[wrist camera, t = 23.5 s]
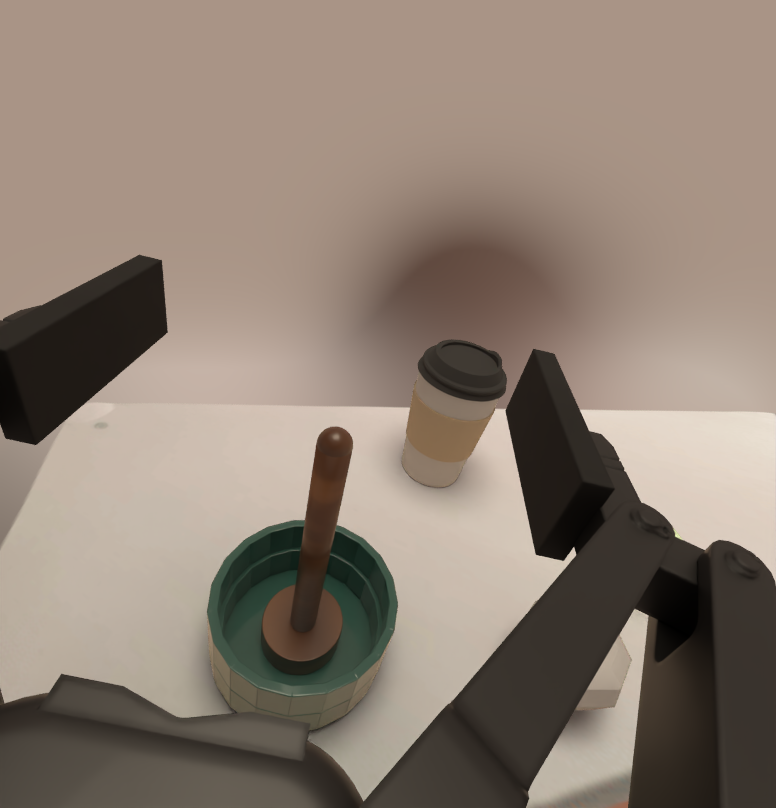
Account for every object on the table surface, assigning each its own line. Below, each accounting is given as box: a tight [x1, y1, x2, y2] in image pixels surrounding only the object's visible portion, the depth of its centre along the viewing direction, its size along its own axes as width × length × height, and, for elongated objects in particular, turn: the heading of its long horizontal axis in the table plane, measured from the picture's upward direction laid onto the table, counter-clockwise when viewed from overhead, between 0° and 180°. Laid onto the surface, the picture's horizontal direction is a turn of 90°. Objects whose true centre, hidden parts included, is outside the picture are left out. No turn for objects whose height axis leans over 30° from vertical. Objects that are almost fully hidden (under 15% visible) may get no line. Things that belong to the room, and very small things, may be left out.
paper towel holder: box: [261, 427, 353, 675], centre depth 27 cm, size 6×6×19 cm
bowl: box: [207, 520, 398, 730], centre depth 31 cm, size 12×12×6 cm
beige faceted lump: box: [532, 600, 632, 710], centre depth 33 cm, size 8×8×7 cm
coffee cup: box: [402, 340, 507, 487], centre depth 48 cm, size 9×9×15 cm
